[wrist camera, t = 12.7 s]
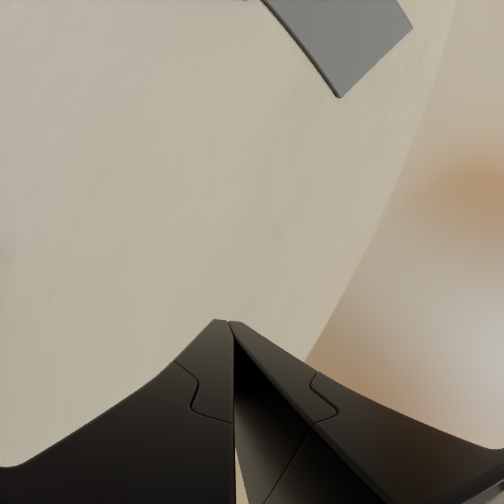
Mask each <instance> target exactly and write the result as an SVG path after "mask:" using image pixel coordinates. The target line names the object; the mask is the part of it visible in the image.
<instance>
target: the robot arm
mask: <svg viewBox="0 0 504 504" xmlns="http://www.w3.org/2000/svg"><path fill="white" fill-rule="evenodd" d="M235 447H236V451H237V456H238V460H239V464H240V469H241V473H242V477H243V481H244V486H245V489H246V494H247V498H248V502H249V504H504V448H502V449H497V450H496V449H488V448H485V447H482V446H479V445H477V444H474V443H471V442H469V441H466V440H463V439H461V438H458V437H456V436H453V435H451V434H448V433H446V432H443V431H441V430H438V429H436V428H434V427H431V426H429V425H427V424H424V423H422V422H419V421H417V420H415V419H413V418H410V417H408V416H406V415H404V414H401V413H399V412H397V411H395V410H392V409H390V408H388V407H386V406H383V405H381V404H379V403H377V402H375V401H373V400H371V399H369V398H367V397H365V396H362V395H361V394H359V393H357V392H355V391H353V390H351V389H348V388H347V387H345V386H343V385H341V384H339V383H338V382H336V381H334V380H332V379H331V378H329V377H327V376H326V375H324V374H322V373H321V372H317V371H316V370H315V369H313V368H312V367H310V366H309V365H307V364H305V363H304V362H302V361H301V360H299V359H297V358H296V357H294V356H293V355H291V354H290V353H288V352H286V351H285V350H283V349H282V348H280V347H279V346H277V345H276V344H274V343H272V342H271V341H269V340H268V339H266V338H265V337H263V336H262V335H260V334H259V333H257V332H256V331H254V330H253V329H251V328H250V327H248V326H247V325H245V324H244V323H242V322H237V321H229V322H227V321H226V320H218V319H214V320H212V321H211V322H210V323H209V324H208V325H207V326H206V327H205V328H204V329H203V330H202V332H201V333H200V334H199V335H198V336H197V337H196V338H195V339H194V340H193V341H192V342H191V343H190V344H189V345H188V346H187V347H186V348H185V349H184V350H183V351H182V352H181V353H180V354H179V355H178V356H177V357H176V358H175V359H174V360H173V361H172V362H171V363H170V364H169V365H168V366H167V367H166V368H165V369H164V370H163V371H161V372H160V373H159V374H158V375H157V376H156V377H155V378H153V379H152V380H151V381H149V382H148V383H147V384H145V385H144V386H143V387H141V388H140V389H138V390H137V391H135V392H134V393H132V394H131V395H129V396H128V397H126V398H125V399H123V400H122V401H120V402H119V403H117V404H116V405H114V406H113V407H111V408H110V409H108V410H107V411H105V412H104V413H102V414H101V415H99V416H98V417H96V418H95V419H93V420H92V421H90V422H89V423H87V424H85V425H84V426H82V427H81V428H79V429H78V430H76V431H75V432H73V433H71V434H70V435H68V436H67V437H65V438H63V439H62V440H60V441H59V442H57V443H55V444H54V445H52V446H51V447H49V448H47V449H46V450H44V451H42V452H41V453H39V454H38V455H36V456H34V457H33V458H31V459H29V460H28V461H26V462H24V463H22V464H19V465H17V466H12V467H0V504H236V479H235V478H236V476H235V474H236V473H235Z"/></svg>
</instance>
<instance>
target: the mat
mask: <svg viewBox="0 0 504 504" xmlns="http://www.w3.org/2000/svg"><path fill="white" fill-rule="evenodd" d="M263 1H264V2H265V3H266V4H267V6H268V7H269V8H270V9H271V10H272V11H273V12H274V13H275V15H276V16H277V17H278V18H279V19H280V21H281V22H282V23H283V24H284V25H285V27H286V28H287V29H288V30H289V31H290V33H291V34H292V35H293V36H294V38H295V39H296V40H297V41H298V43H299V44H300V45H301V46H302V48H303V49H304V50H305V52H306V53H307V54H308V56H309V57H310V58H311V60H312V61H313V62H314V64H315V65H316V66H317V68H318V69H319V71H320V72H321V73H322V75H323V76H324V77H325V79H326V80H327V82H328V83H329V85H330V86H331V88H332V89H333V90H334V92H335V93H336V95H337V96H338V98H342V97H343V96H344V95H345V94H346V93H347V92H348V91H349V90H350V89H351V88H352V87H353V86H354V85H355V84H356V83H357V82H358V81H359V80H360V79H361V78H362V77H363V76H364V75H365V74H366V73H367V72H368V71H369V70H370V69H371V68H372V67H373V66H374V65H375V64H376V63H377V62H378V61H379V60H380V59H381V58H382V57H383V56H384V55H385V54H386V53H388V52H389V51H390V50H391V49H392V48H393V47H394V46H395V45H396V44H397V43H398V42H399V41H400V40H401V39H402V38H403V37H404V36H405V35H406V34H408V33H409V32H410V31H411V30H412V29H413V26H412V24H411V23H410V21H409V19H408V18H407V16H406V14H405V13H404V11H403V10H402V8H401V6H400V5H399V3H398V2H397V0H263Z"/></svg>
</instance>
